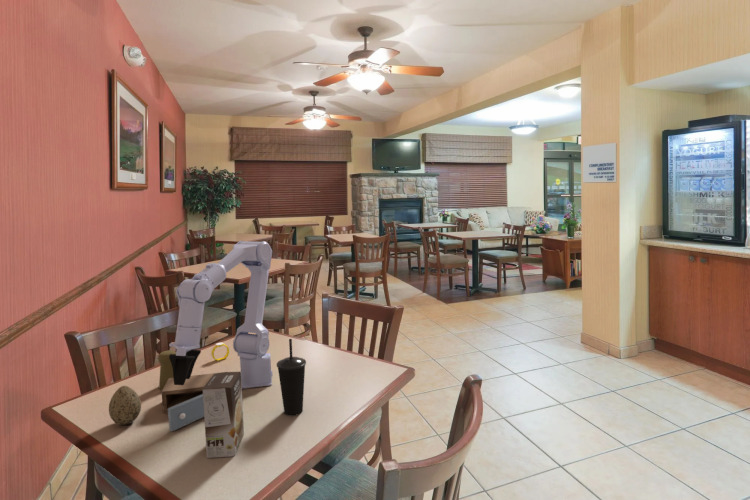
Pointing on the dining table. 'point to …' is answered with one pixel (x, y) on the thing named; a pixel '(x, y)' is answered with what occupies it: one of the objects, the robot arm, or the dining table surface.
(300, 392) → the drinking cup
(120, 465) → the dining table surface
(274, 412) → the dining table surface
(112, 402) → the decorative egg
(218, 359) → the watch
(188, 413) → the cabinet door
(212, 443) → the coffee box
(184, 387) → the cabinet
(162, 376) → the cork
